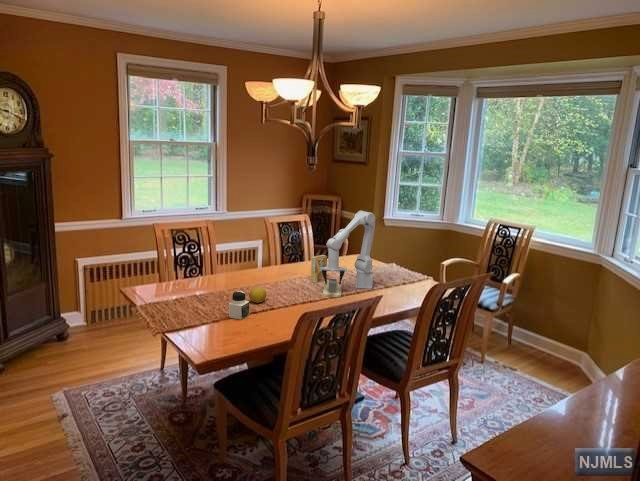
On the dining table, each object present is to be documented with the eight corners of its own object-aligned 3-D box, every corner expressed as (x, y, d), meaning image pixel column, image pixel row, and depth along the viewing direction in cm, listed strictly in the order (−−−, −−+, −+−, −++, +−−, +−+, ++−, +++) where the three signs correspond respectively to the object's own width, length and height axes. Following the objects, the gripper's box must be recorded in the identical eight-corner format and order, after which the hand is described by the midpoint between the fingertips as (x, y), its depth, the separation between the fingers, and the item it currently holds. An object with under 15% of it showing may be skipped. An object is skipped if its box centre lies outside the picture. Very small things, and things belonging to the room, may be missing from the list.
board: (341, 286, 281) (341, 284, 281) (341, 297, 263) (341, 295, 262) (324, 285, 282) (324, 283, 282) (322, 296, 263) (322, 294, 263)
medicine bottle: (241, 320, 227) (241, 295, 225) (228, 317, 230) (228, 293, 227) (249, 315, 234) (249, 291, 231) (236, 312, 236) (236, 289, 234)
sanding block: (336, 289, 272) (336, 279, 270) (335, 293, 265) (336, 283, 263) (329, 289, 272) (329, 278, 270) (328, 293, 265) (328, 282, 264)
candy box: (322, 278, 295) (322, 254, 291) (326, 280, 292) (327, 255, 288) (310, 281, 289) (311, 256, 286) (315, 283, 286) (315, 258, 283)
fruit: (259, 306, 246) (259, 291, 245) (246, 303, 250) (246, 288, 248) (269, 301, 254) (269, 286, 252) (256, 298, 258) (256, 283, 256)
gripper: (319, 261, 263) (319, 285, 266) (346, 262, 262) (346, 286, 265) (320, 258, 269) (320, 281, 272) (346, 259, 269) (346, 282, 272)
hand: (332, 283), depth 269 cm, fingers open, 7 cm apart
